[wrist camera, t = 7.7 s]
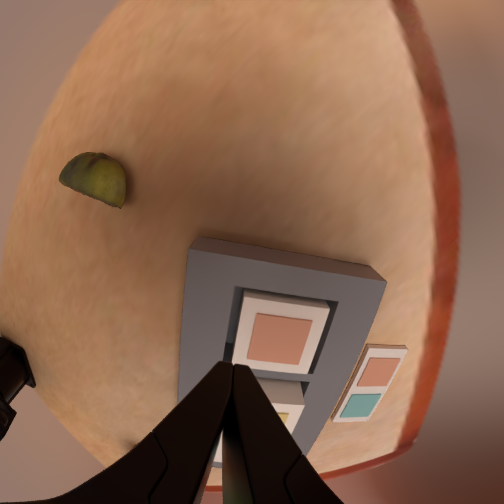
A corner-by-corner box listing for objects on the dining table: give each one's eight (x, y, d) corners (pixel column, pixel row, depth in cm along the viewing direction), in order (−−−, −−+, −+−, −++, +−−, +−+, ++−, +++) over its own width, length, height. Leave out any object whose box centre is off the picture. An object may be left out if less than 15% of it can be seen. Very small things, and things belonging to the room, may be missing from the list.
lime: (142, 201, 19) (111, 212, 14) (90, 217, 20) (53, 232, 15) (129, 142, 18) (95, 138, 13) (78, 163, 18) (38, 166, 13)
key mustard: (282, 420, 22) (285, 447, 19) (221, 414, 22) (218, 441, 19) (299, 378, 21) (305, 407, 18) (229, 370, 20) (226, 399, 17)
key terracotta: (301, 350, 22) (307, 375, 19) (233, 341, 22) (231, 367, 19) (320, 289, 20) (330, 310, 17) (245, 278, 20) (244, 298, 17)
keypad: (292, 452, 27) (295, 472, 24) (182, 439, 27) (177, 460, 24) (370, 266, 21) (387, 281, 18) (198, 236, 20) (188, 248, 17)
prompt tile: (366, 417, 26) (368, 422, 25) (330, 418, 25) (332, 423, 25) (405, 345, 23) (409, 350, 22) (367, 344, 23) (369, 349, 22)
